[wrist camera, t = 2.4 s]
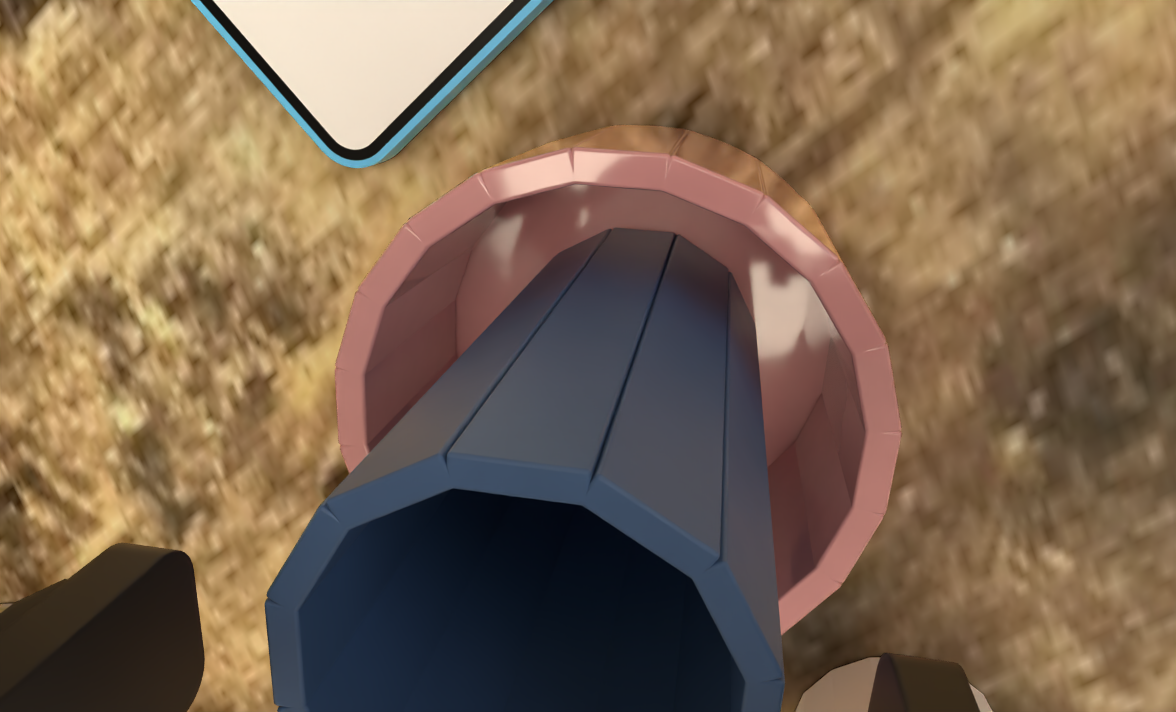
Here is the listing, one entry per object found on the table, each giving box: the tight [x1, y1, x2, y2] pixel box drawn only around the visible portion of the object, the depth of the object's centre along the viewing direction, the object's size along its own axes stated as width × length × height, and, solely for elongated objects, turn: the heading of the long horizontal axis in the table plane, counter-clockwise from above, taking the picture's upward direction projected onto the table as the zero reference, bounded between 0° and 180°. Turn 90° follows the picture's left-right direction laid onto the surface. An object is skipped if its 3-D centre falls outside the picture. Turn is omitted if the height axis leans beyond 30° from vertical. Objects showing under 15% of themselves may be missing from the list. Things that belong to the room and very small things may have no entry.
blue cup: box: [265, 228, 785, 712], centre depth 14 cm, size 6×6×12 cm
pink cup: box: [335, 125, 902, 635], centre depth 18 cm, size 10×10×6 cm
